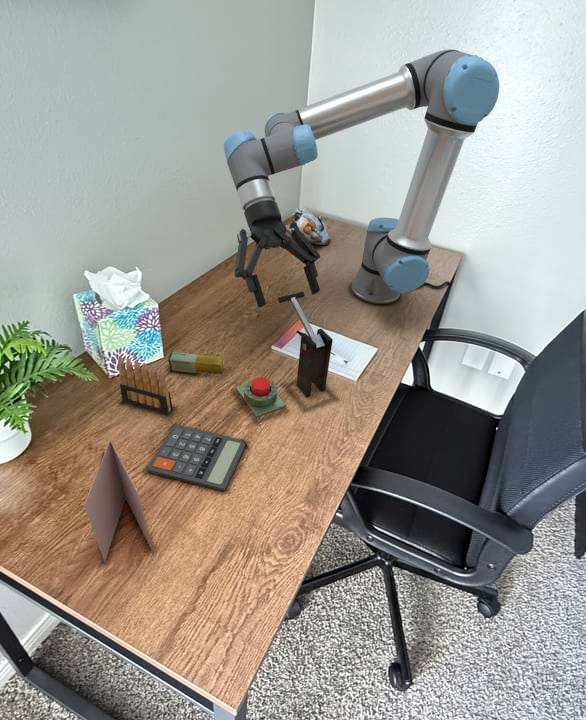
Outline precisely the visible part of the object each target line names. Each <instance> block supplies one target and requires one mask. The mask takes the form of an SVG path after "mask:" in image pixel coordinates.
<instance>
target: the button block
mask: <svg viewBox="0 0 586 720" xmlns="http://www.w3.org/2000/svg"><path fill="white" fill-rule="evenodd" d="M252 380H253V379H250V380H249V381H247V382H246V383H243V384H240V385H237V386H235V391H236V392H237V393H238V395H239V396H240V397H241V399H242V400H243V402H244V403H245V404H246V405H247V407H248V408H249V410H250V411H251V413H253V416H255V418H260V417H263V416H265V415H269V414H271V413H274V412H277V411H279V410H282V409H284V408H286V407H287V404H286V402H285V401H284V400H283V399H282V398H281V397H280V396H279V394H278V393H277V392H278V388H277V385H276V384H275V383H274V381H272V380H270V379H268V380H269V381H270V392H269V394H267V395H265V396H256V395H254V394H253V393H252V392H251V382H252Z"/></svg>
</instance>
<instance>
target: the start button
mask: <svg viewBox="0 0 586 720" xmlns="http://www.w3.org/2000/svg"><path fill="white" fill-rule="evenodd" d="M251 380H252V382H251V392H252V393H253V394H254V395H256V396H265V395H267V394H269V392H270V381H271V380H270V379H269V378H267V377H265V376H264V377H263V376H258V377H255V378H253V379H251ZM269 380H270V381H269Z"/></svg>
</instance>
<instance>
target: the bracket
mask: <svg viewBox="0 0 586 720" xmlns="http://www.w3.org/2000/svg"><path fill="white" fill-rule="evenodd" d="M318 334H320V336H321V338H322V340H323V342H324V343H325V346H324V348H323V349H322V350H321V351H318V352H316V346H317V344H316V343H315V342H314V341H313V340H312V339H311V338H310V337H309V336H308V334H307V332H306V333H305V332H304V333H301V335H300V344H299V345H300V346H299V353H298V355H299V356H298V366H297V375H296V387H297V388H298V389H299V390H300V392H301V393H302V394H303V395H304V396H305V398H310V397H311V394H312V387H313V384H314V385H315V386H316V388H317V389H318V390H319V391H320V392H321V393H323V392H326V387H327V381H328V373H329V366H330V360H331V353H332V347H333V340H334V339H333V338H332V337H331V336H330V335H329V334H328V333H327V332H326V331H325V330H324V329H323V328H318V329H317V330H316V335H318Z"/></svg>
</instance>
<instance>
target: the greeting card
mask: <svg viewBox="0 0 586 720" xmlns="http://www.w3.org/2000/svg"><path fill="white" fill-rule="evenodd" d="M125 502H126V503H127V504H128V506H129V507H130V510H131V512H132V514H133V516H134V518H135V519H136V522H137V524H138V526H139V527H140V530H141V532H142V534H143V536H144V538H145V539H146V541H147V544H148V545H149V548H150V549H151V550H152V548H153V547H152V544H151V540H150V536H149V530H148V528H147V523H146V519H145V516H144V509H143V506H142V502H141V498H140V493H139V491H138V489H137V488H136V486H135V484H134V482H133V480H132V478H131V476H130V474H129V472H128V470H127V469H126V466H125V465H124V463H123V461H122V459H121V457H120V456H119V453H118V452H117V450H116V448H115V447H114V444H113V443H112V440H109V442H108V444H107V446H106V449H105V451H104V452H102V456H101V458H100V461H99V465H98V467H97V471H96V473H95V476H94V479H93V481H92V484H91V487H90V488H89V491H88V494H87V497H86V499H85V502H84V503H83V507H84V510H85V512H86V516H87V518H88V521H89V523H90V527H91V530H92V532H93V534H94V537H95V539H96V542H97V545H98V548H99V550H100V553H101V556H102V559H103V561H104V562H106V560H107V557H108V553H109V551H110V548H111V545H112V542H113V538H114V536H115V532H116V529H117V527H118V523H119V521H120V517H121V513H122V511H123V507H124V504H125Z"/></svg>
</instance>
